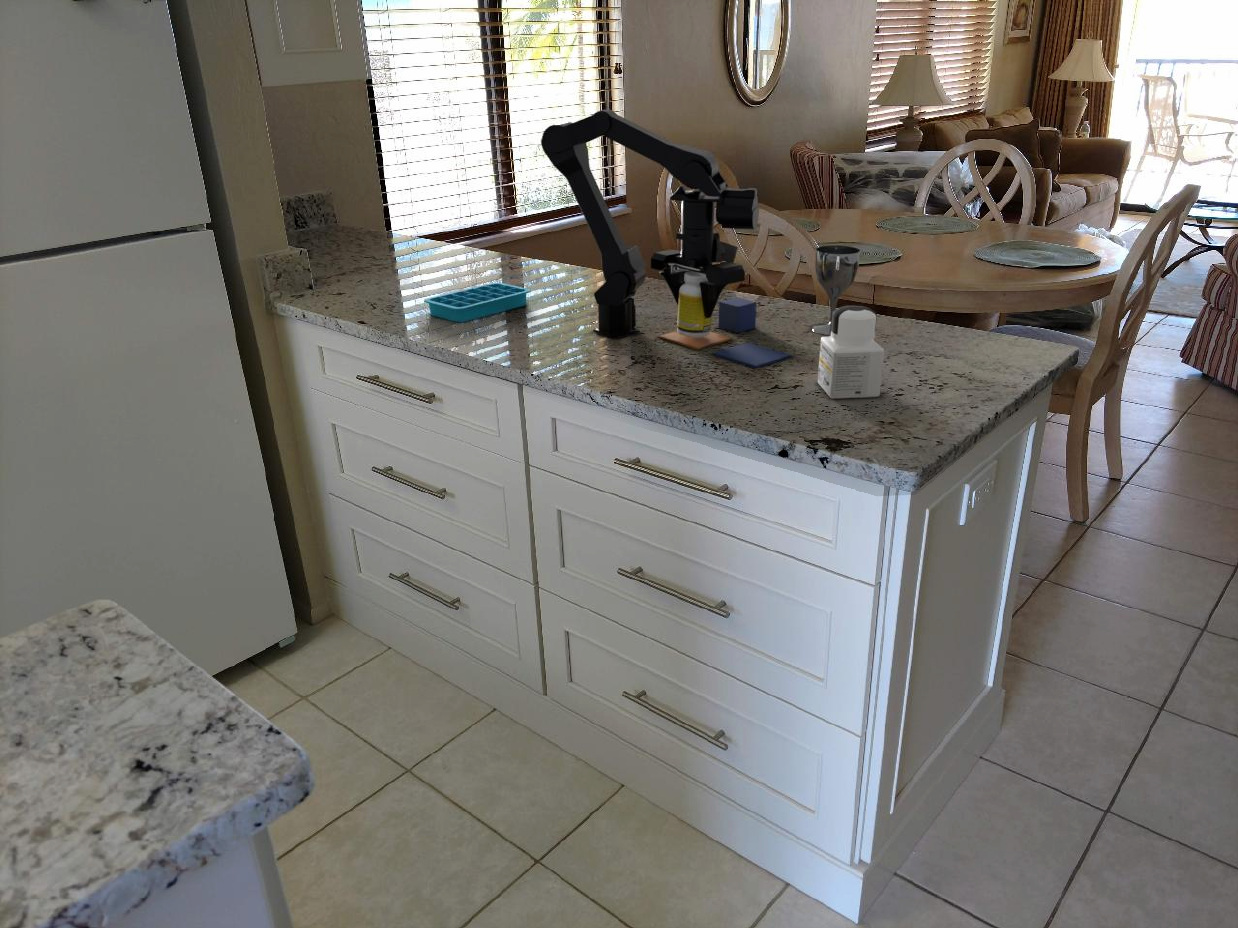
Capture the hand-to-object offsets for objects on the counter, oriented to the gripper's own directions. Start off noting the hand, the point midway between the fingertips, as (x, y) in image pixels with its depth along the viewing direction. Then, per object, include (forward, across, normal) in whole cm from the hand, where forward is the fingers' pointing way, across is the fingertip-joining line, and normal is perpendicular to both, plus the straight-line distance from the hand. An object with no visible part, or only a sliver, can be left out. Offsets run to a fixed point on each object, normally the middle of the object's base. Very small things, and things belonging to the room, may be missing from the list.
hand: (695, 314), depth 174 cm
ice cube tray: (+5, +45, +18) cm, 49 cm away
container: (+5, -36, +2) cm, 36 cm away
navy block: (+5, 0, -11) cm, 12 cm away
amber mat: (+5, 0, 0) cm, 5 cm away
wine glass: (+5, -13, -23) cm, 27 cm away
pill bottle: (+4, 0, 0) cm, 4 cm away
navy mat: (+5, -14, 0) cm, 15 cm away
